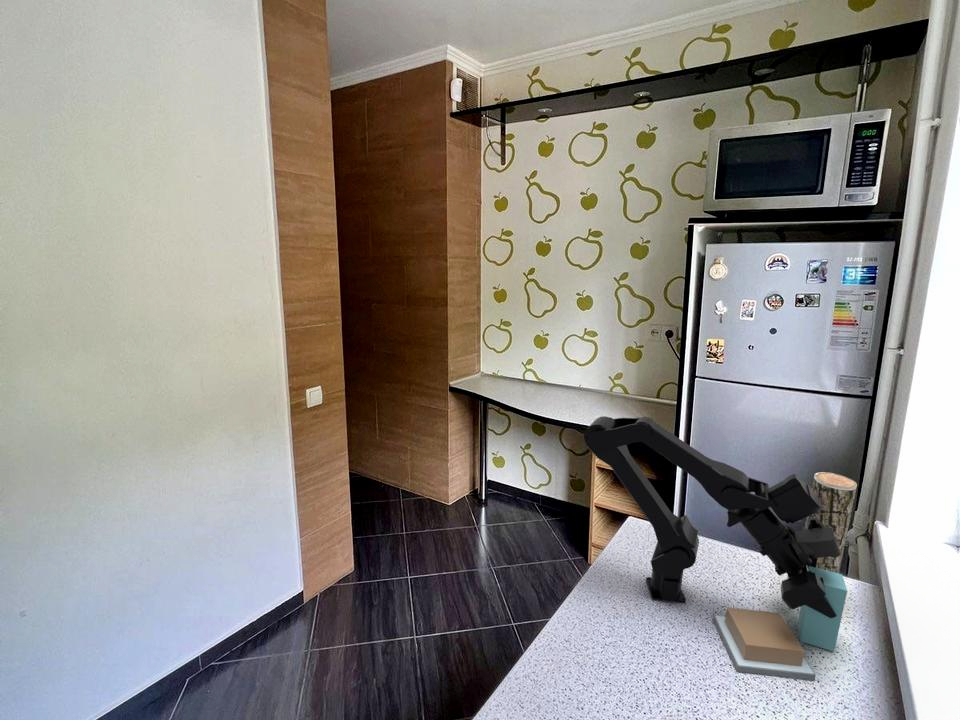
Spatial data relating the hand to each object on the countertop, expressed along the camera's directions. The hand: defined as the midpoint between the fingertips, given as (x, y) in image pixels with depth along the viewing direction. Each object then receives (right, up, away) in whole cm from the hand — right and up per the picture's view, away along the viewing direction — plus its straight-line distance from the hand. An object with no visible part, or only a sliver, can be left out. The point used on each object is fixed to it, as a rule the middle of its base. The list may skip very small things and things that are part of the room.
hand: (831, 607), depth 89 cm
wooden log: (+6, -4, +14) cm, 16 cm away
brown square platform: (-13, -7, -1) cm, 15 cm away
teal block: (-2, -6, +2) cm, 7 cm away
